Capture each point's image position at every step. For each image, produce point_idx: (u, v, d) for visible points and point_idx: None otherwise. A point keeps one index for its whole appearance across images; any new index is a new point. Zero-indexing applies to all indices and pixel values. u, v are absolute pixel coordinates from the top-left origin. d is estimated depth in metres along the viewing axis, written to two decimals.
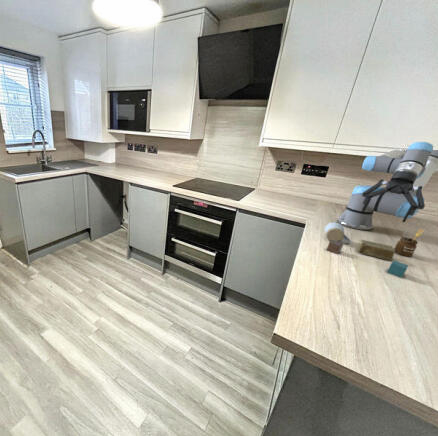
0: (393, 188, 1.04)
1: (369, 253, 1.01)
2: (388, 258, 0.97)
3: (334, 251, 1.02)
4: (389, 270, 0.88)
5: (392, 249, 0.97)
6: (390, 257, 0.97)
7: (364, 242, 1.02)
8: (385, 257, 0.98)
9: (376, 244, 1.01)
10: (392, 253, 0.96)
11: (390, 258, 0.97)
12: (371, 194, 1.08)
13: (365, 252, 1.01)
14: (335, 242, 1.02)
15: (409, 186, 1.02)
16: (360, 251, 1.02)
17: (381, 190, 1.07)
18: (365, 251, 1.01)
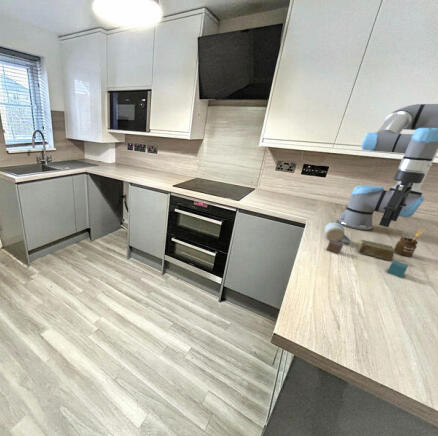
0: None
1: (369, 253, 1.01)
2: (388, 258, 0.97)
3: (334, 251, 1.02)
4: (389, 270, 0.88)
5: (392, 249, 0.97)
6: (390, 257, 0.97)
7: (364, 242, 1.02)
8: (385, 257, 0.98)
9: (376, 244, 1.01)
10: (392, 253, 0.96)
11: (390, 258, 0.97)
12: (396, 207, 0.89)
13: (365, 252, 1.01)
14: (335, 242, 1.02)
15: (409, 186, 0.92)
16: (360, 251, 1.02)
17: (401, 199, 0.89)
18: (365, 251, 1.01)
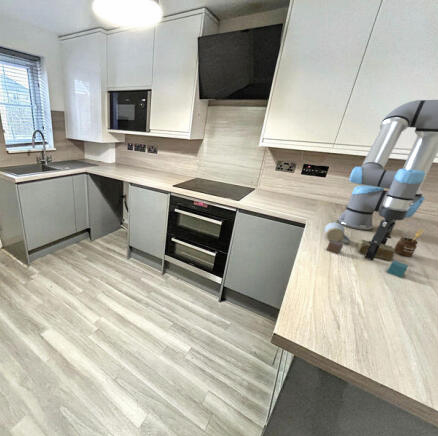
0: None
1: None
2: (388, 258, 0.97)
3: (334, 251, 1.02)
4: (389, 270, 0.88)
5: (392, 249, 0.97)
6: (390, 257, 0.97)
7: (364, 242, 1.02)
8: (385, 257, 0.98)
9: None
10: (392, 253, 0.96)
11: (390, 258, 0.97)
12: (380, 242, 0.94)
13: (365, 252, 1.01)
14: (335, 242, 1.02)
15: (393, 221, 0.97)
16: (360, 251, 1.02)
17: (385, 234, 0.94)
18: (365, 251, 1.01)
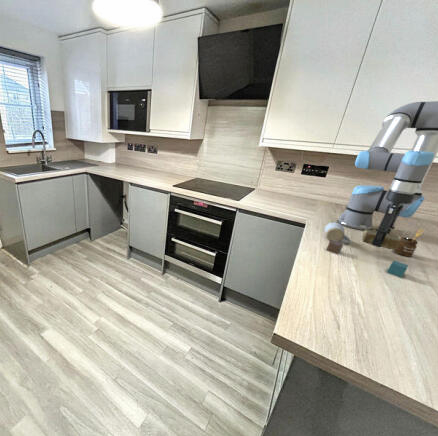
0: None
1: None
2: (393, 247, 0.96)
3: (334, 251, 1.02)
4: (389, 270, 0.88)
5: (397, 238, 0.96)
6: (395, 246, 0.95)
7: (368, 231, 1.01)
8: (390, 246, 0.96)
9: None
10: (397, 242, 0.95)
11: (395, 247, 0.95)
12: (387, 229, 0.94)
13: (369, 241, 1.00)
14: (335, 242, 1.02)
15: (401, 205, 0.95)
16: (364, 240, 1.01)
17: (392, 220, 0.93)
18: (369, 240, 1.00)
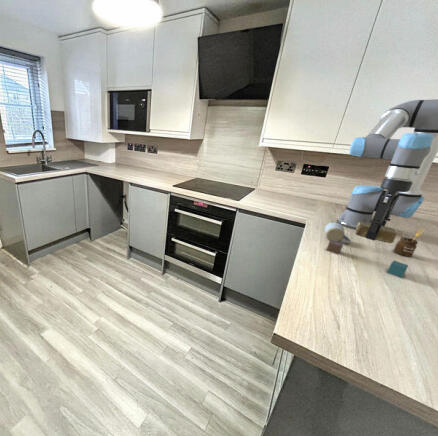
0: None
1: None
2: (389, 240, 0.88)
3: (334, 251, 1.02)
4: (389, 270, 0.88)
5: (393, 231, 0.87)
6: (391, 239, 0.87)
7: (362, 223, 0.93)
8: (385, 239, 0.88)
9: None
10: (393, 235, 0.86)
11: (391, 240, 0.87)
12: (382, 220, 0.86)
13: (363, 234, 0.92)
14: (335, 242, 1.02)
15: (397, 194, 0.87)
16: (357, 233, 0.93)
17: (387, 210, 0.85)
18: (363, 233, 0.92)
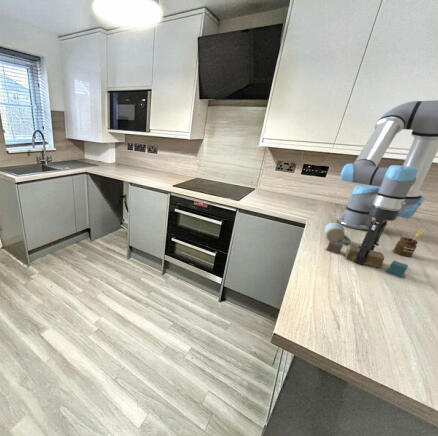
0: None
1: None
2: (377, 265, 0.91)
3: (334, 251, 1.02)
4: (389, 270, 0.88)
5: (381, 256, 0.91)
6: (379, 264, 0.91)
7: (352, 248, 0.96)
8: (373, 264, 0.92)
9: None
10: (381, 260, 0.90)
11: (379, 265, 0.91)
12: (370, 246, 0.90)
13: (352, 258, 0.95)
14: (335, 242, 1.02)
15: (385, 221, 0.91)
16: (347, 257, 0.96)
17: (375, 237, 0.89)
18: (352, 257, 0.95)
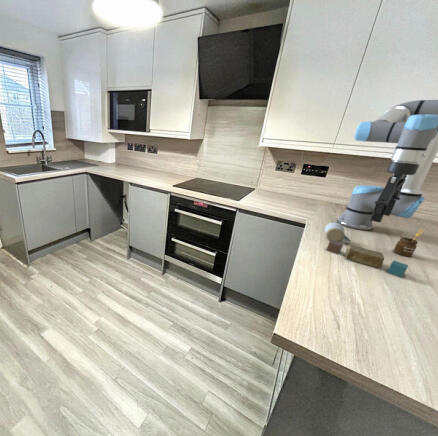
0: None
1: (357, 259, 0.95)
2: (377, 265, 0.91)
3: (334, 251, 1.02)
4: (389, 270, 0.88)
5: (381, 256, 0.91)
6: (379, 264, 0.91)
7: (352, 247, 0.96)
8: (373, 264, 0.92)
9: (365, 250, 0.95)
10: (381, 260, 0.90)
11: (379, 265, 0.91)
12: (388, 201, 0.83)
13: (352, 258, 0.95)
14: (335, 242, 1.02)
15: (403, 178, 0.86)
16: (347, 257, 0.96)
17: (393, 192, 0.83)
18: (352, 257, 0.95)
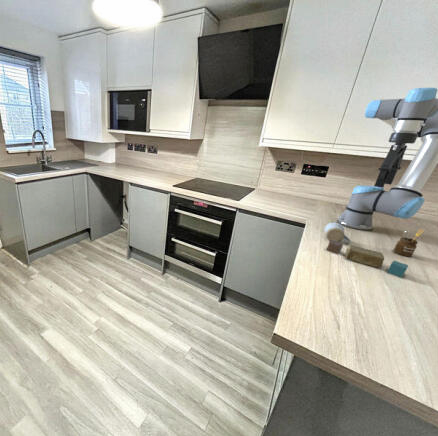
0: None
1: (357, 259, 0.95)
2: (377, 265, 0.91)
3: (334, 251, 1.02)
4: (389, 270, 0.88)
5: (381, 256, 0.91)
6: (379, 264, 0.91)
7: (352, 247, 0.96)
8: (373, 264, 0.92)
9: (365, 250, 0.95)
10: (381, 260, 0.90)
11: (379, 265, 0.91)
12: (390, 167, 0.93)
13: (352, 258, 0.95)
14: (335, 242, 1.02)
15: (404, 148, 0.95)
16: (347, 257, 0.96)
17: (395, 159, 0.93)
18: (352, 257, 0.95)
